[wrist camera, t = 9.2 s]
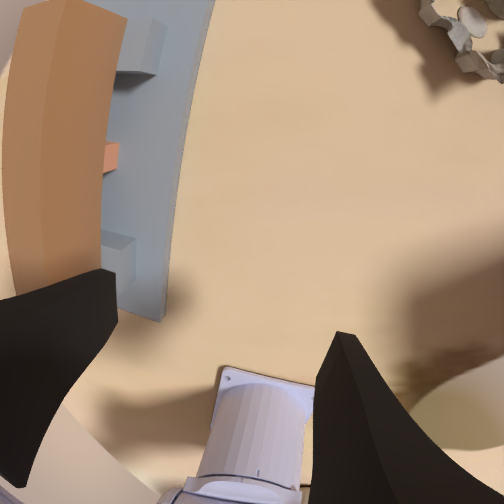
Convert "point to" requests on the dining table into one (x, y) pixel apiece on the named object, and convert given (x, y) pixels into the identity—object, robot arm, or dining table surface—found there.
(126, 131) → the display stand
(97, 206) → the brown bar
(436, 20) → the stone castle ruin
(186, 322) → the dining table surface
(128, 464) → the dining table surface
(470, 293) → the dining table surface
